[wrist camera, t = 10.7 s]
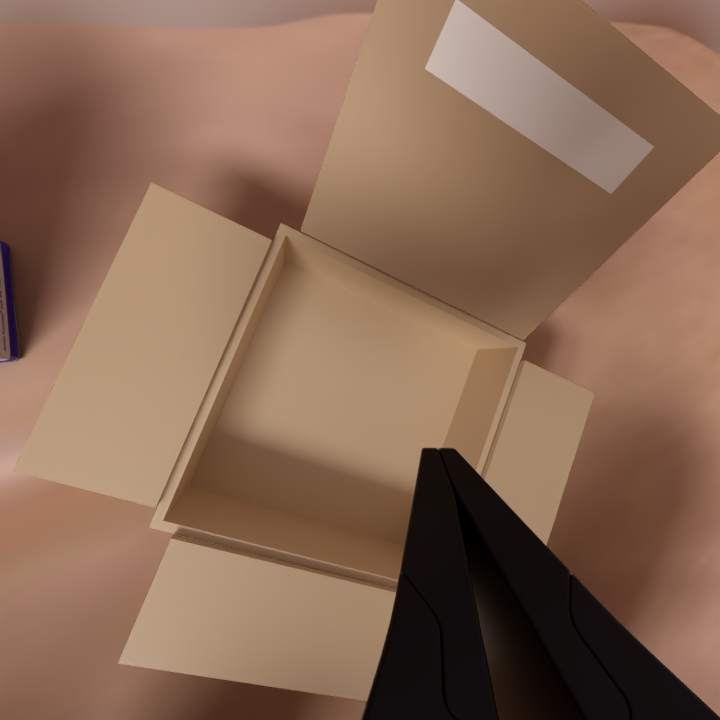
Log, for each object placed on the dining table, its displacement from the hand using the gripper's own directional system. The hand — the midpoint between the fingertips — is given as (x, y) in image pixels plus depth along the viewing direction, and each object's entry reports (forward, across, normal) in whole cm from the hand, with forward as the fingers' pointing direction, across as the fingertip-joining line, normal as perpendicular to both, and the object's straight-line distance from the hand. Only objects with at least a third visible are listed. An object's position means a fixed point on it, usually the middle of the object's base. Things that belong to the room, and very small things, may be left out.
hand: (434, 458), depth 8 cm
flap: (+9, -1, -2) cm, 9 cm away
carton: (+8, +4, +8) cm, 11 cm away
